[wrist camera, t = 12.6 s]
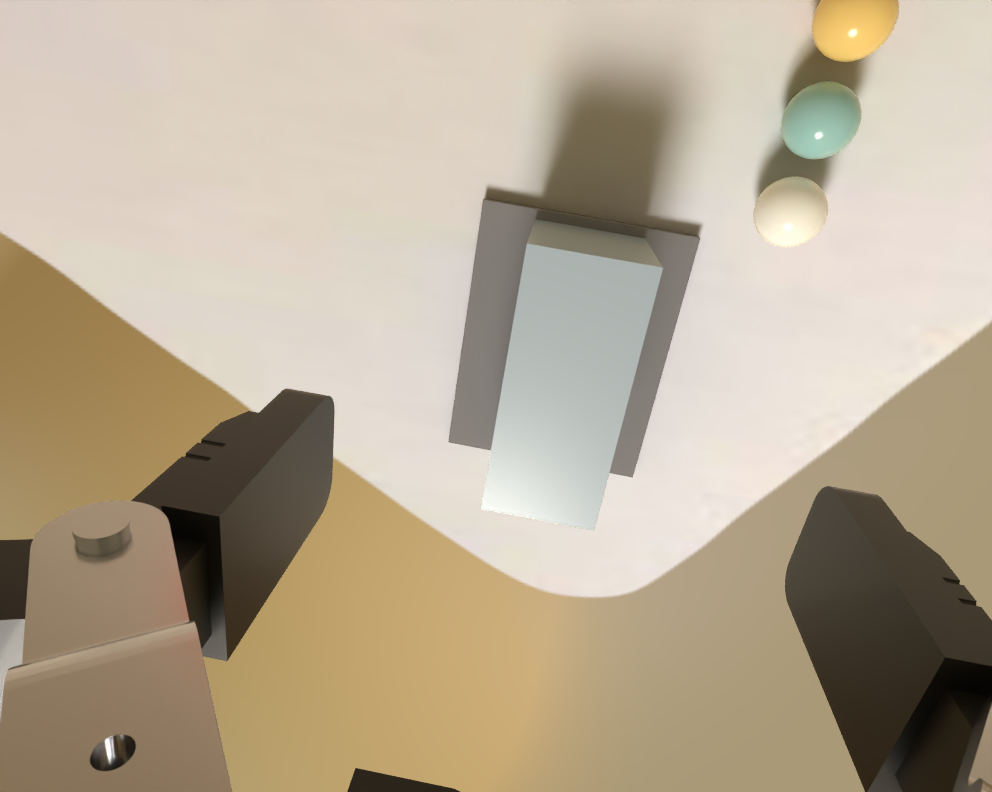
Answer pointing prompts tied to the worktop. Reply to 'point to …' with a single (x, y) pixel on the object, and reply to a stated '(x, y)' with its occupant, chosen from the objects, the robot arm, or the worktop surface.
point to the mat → (496, 307)
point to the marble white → (790, 211)
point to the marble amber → (853, 27)
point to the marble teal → (821, 120)
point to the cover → (569, 371)
